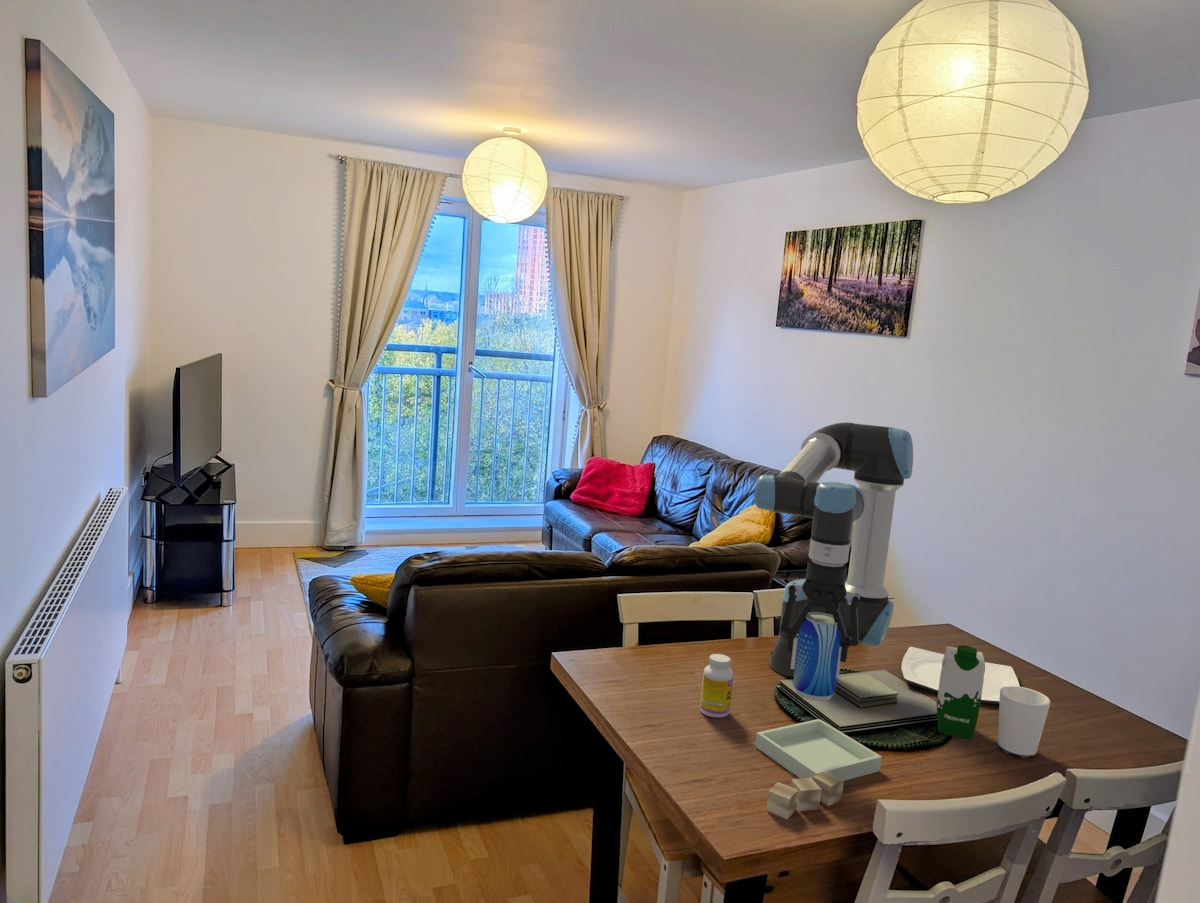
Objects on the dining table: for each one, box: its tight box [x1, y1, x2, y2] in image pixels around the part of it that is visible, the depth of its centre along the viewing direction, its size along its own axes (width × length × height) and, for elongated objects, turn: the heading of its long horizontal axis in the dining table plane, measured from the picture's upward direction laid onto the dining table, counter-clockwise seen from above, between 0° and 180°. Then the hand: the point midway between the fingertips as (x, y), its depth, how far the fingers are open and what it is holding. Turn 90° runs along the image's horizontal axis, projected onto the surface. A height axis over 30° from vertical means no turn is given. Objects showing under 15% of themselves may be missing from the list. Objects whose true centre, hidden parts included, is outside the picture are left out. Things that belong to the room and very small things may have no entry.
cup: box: [997, 686, 1051, 759], centre depth 186 cm, size 10×10×13 cm
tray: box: [754, 718, 883, 782], centre depth 177 cm, size 18×18×3 cm
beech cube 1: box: [813, 771, 845, 807], centre depth 162 cm, size 4×4×4 cm
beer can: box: [792, 612, 841, 702], centre depth 173 cm, size 8×8×16 cm
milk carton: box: [936, 645, 986, 741], centre depth 194 cm, size 9×9×20 cm
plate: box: [900, 646, 1021, 705], centre depth 224 cm, size 29×29×3 cm
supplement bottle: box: [699, 653, 734, 719], centre depth 194 cm, size 7×7×13 cm
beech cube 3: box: [765, 781, 798, 820], centre depth 156 cm, size 4×4×4 cm
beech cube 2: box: [790, 778, 822, 812], centre depth 159 cm, size 4×4×4 cm
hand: (814, 671), depth 174 cm, fingers closed on beer can, 8 cm apart
